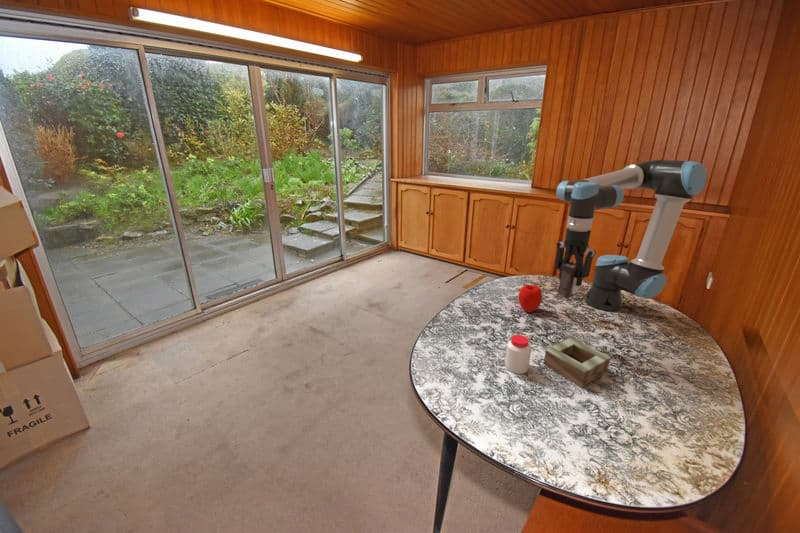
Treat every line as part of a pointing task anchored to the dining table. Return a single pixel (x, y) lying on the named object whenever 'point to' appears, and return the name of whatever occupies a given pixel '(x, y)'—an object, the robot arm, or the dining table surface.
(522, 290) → the apple
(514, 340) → the pill bottle
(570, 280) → the box
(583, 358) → the socket block
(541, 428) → the dining table surface
